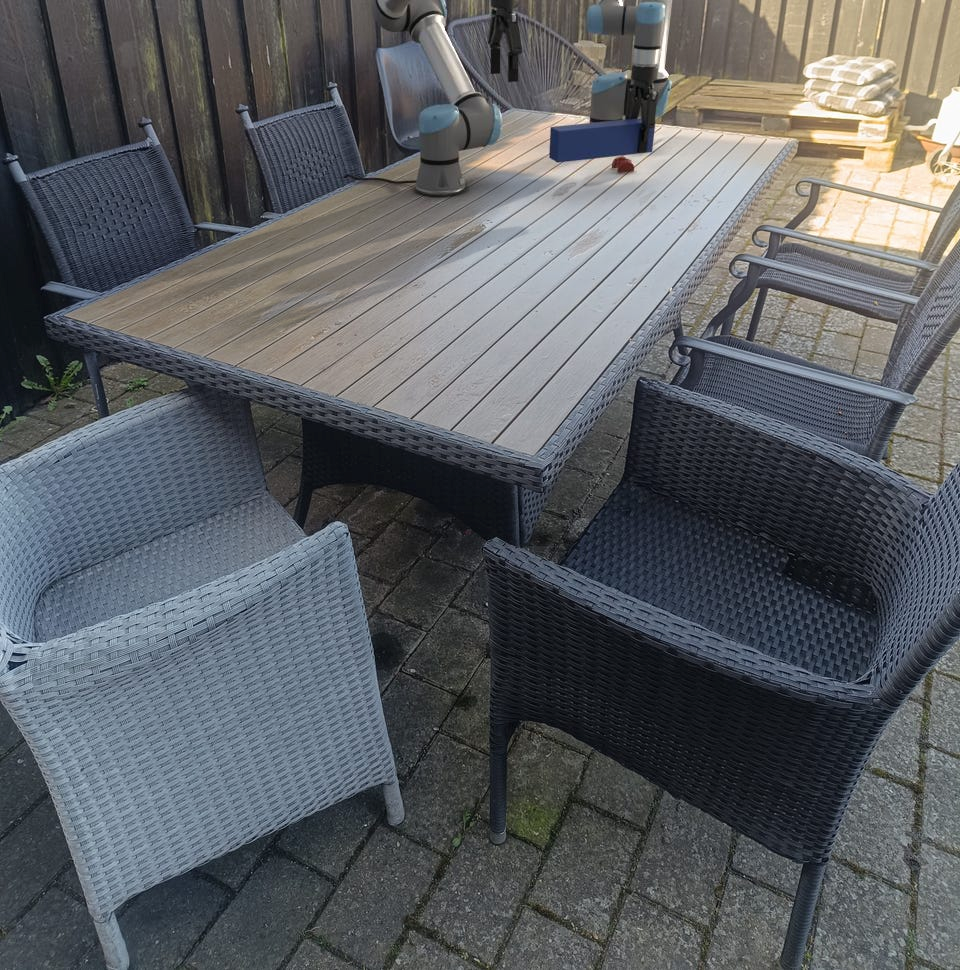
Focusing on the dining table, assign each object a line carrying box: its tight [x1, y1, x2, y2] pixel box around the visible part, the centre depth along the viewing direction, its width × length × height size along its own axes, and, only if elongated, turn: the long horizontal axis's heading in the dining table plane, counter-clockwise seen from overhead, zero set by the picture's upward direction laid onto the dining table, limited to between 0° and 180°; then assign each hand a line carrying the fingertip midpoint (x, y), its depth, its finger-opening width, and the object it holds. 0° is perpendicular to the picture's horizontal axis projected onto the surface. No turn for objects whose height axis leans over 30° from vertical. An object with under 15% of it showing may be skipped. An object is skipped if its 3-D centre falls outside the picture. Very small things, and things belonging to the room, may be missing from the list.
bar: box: [548, 117, 656, 164], centre depth 248 cm, size 32×6×9 cm, turn 111°
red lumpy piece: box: [611, 155, 635, 174], centre depth 274 cm, size 6×4×8 cm
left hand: (504, 77), depth 237 cm, fingers open, 13 cm apart
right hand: (636, 149), depth 254 cm, fingers closed on bar, 6 cm apart
